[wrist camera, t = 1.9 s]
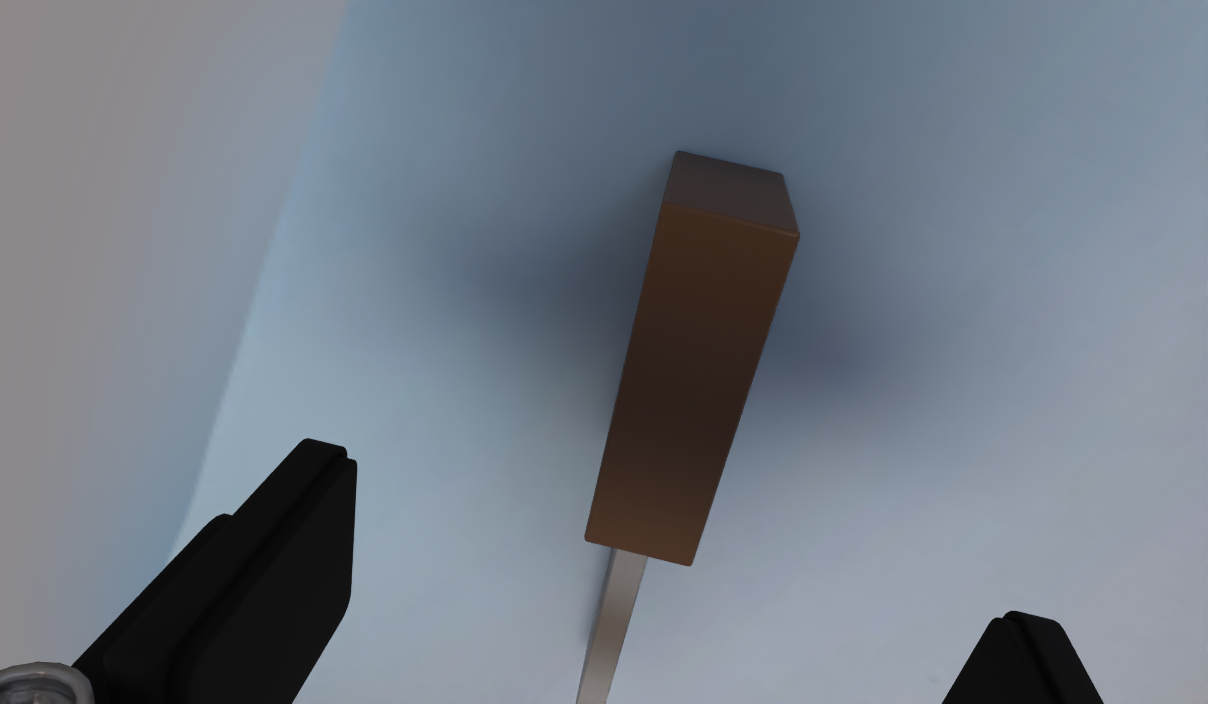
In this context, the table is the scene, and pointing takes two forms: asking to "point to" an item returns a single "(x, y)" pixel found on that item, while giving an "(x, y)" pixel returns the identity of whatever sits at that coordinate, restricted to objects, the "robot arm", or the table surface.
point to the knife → (684, 379)
